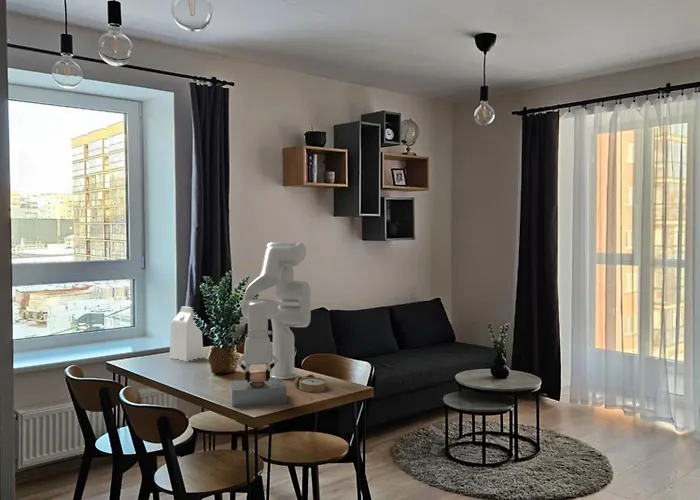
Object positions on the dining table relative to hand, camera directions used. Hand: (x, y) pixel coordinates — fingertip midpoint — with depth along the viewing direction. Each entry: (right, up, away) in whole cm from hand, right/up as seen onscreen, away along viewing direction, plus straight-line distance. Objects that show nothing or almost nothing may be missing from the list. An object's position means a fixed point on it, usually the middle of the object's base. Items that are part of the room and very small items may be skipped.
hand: (257, 380), depth 246 cm
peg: (0, -5, 0) cm, 5 cm away
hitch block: (0, -7, 0) cm, 7 cm away
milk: (-47, -5, +79) cm, 92 cm away
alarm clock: (+19, -7, +20) cm, 28 cm away
